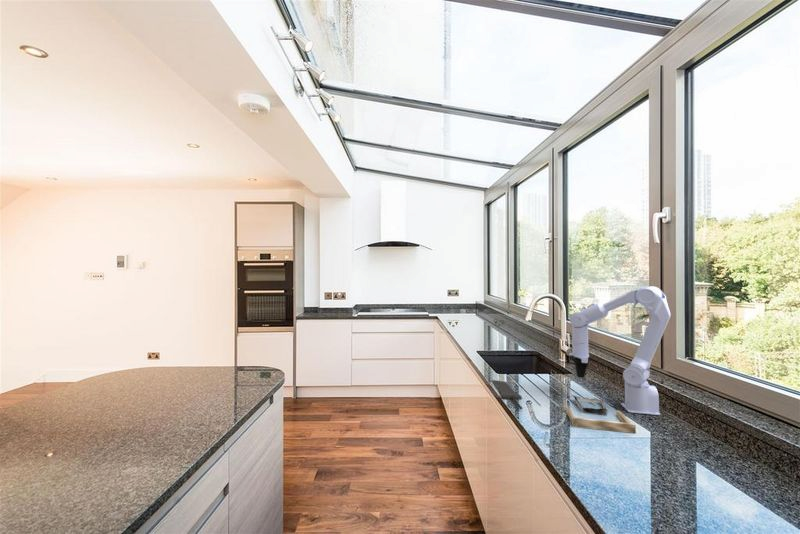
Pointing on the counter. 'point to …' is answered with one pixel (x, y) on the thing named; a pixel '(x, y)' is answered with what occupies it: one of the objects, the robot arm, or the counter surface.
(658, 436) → the counter surface
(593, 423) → the oak frame
